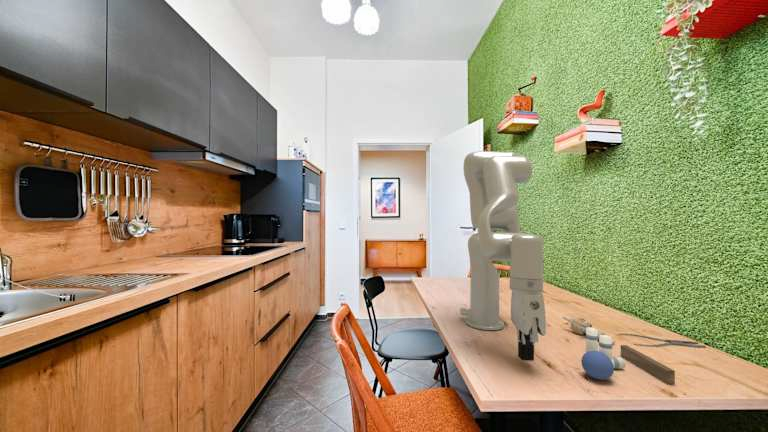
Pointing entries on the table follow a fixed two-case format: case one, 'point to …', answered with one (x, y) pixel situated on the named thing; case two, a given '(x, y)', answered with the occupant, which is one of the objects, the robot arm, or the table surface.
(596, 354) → the ball
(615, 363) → the pin front
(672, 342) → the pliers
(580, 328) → the toy
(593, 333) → the pin back left
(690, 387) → the table surface
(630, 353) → the bar
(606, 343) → the pin back right
